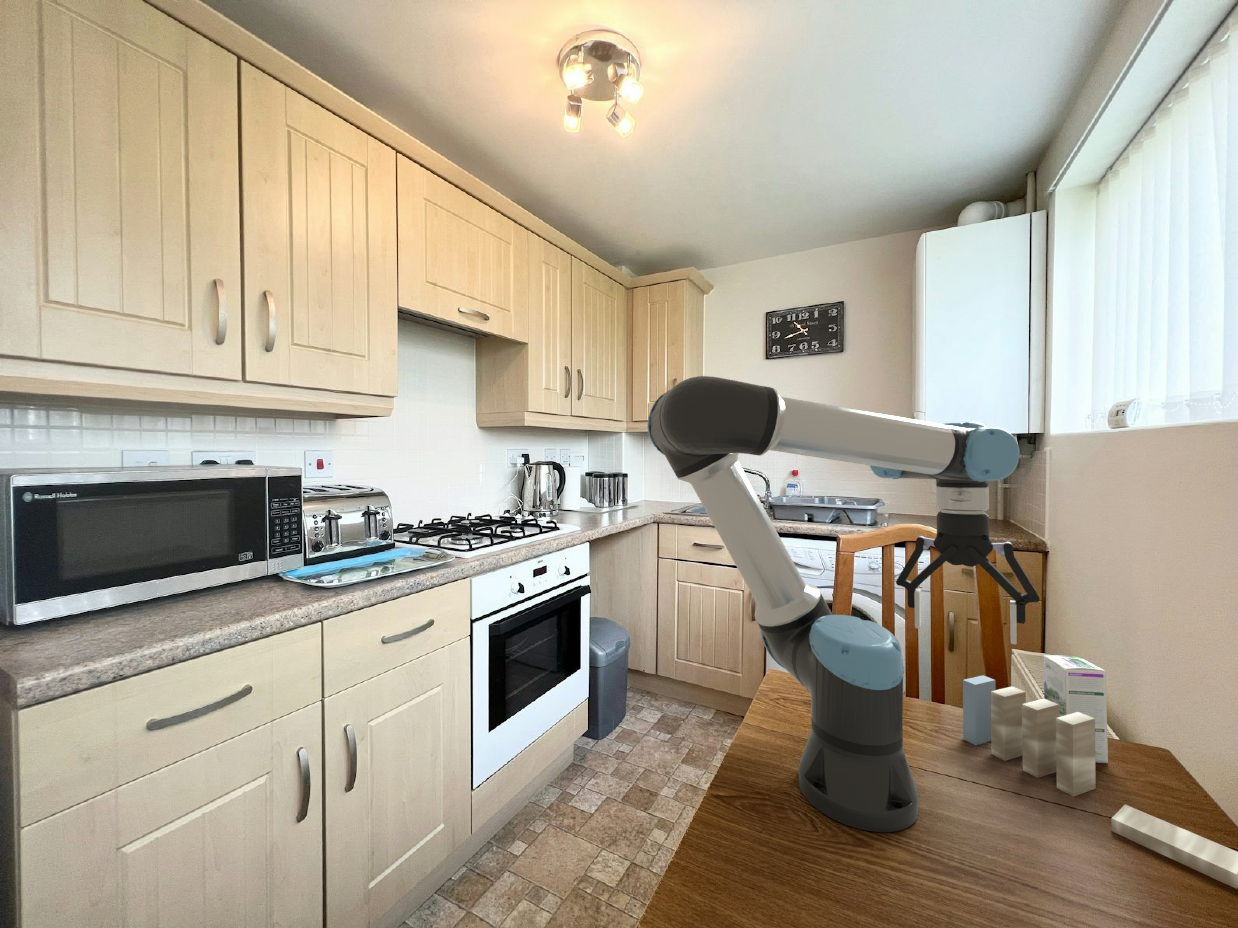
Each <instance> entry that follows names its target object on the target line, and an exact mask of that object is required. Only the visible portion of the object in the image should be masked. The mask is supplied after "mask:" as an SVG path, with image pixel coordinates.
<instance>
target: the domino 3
mask: <svg viewBox="0 0 1238 928" xmlns="http://www.w3.org/2000/svg"><path fill="white" fill-rule="evenodd" d="M1058 717H1059V704H1056V703H1054V702H1051V701H1049V700H1046V699H1044V698H1041V699H1037V700H1033V701H1029V702H1026V703H1024V704H1022V740H1023V755H1022V771H1023V772H1025V773H1027V774H1030V775H1031V776H1032V777H1035V778H1037V779H1039V778H1042V777H1044V776H1049V775H1050V774H1054V773H1057V765H1056V718H1058Z"/></svg>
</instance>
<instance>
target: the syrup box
mask: <svg viewBox="0 0 1238 928" xmlns="http://www.w3.org/2000/svg"><path fill="white" fill-rule="evenodd" d="M1043 692H1044V693H1043V695H1044V696H1043V697H1044V698H1043V699H1046V700H1049V701H1051V702H1054V703H1056V704H1059V717H1061V716H1065V715H1068V714H1072V713H1076V712H1080V713H1082V714H1085V715H1088V716H1090V717H1093V718H1095V763H1100V764H1108V763H1109V751H1108V750H1109V749H1108V746H1109V745H1108V744H1109V743H1108V716H1107V715H1108V714H1107V713H1108V712H1107V706H1108V705H1107V703H1108V702H1107V671H1106V670H1105V669H1103V668H1101V667H1099V666H1098V665H1095V664H1094V663H1091V662H1089V661H1088V660H1086V659H1085V658H1082V657H1080V656H1073V655H1062V654H1058V655H1057V654H1055V655H1051V654H1050V655H1046V654H1043Z"/></svg>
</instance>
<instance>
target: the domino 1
mask: <svg viewBox="0 0 1238 928" xmlns="http://www.w3.org/2000/svg"><path fill="white" fill-rule="evenodd" d="M995 690H997V689H996V679H993V678H991V677H989V676H986V675H984V674H983V675H978V676H975V677H970V678H965V679H962V704H963V705H962V707H963V708H962V711H963V712H962V716H963V717H962V718H963V719H962V721H963V722H962V723H963V724H962V726H963V727H962V729H963V731H962V732H963V740H964V741H966V742H968V743H969V744H972V745H974V746H978V745H979V746H980V745H982V744H985V743H990V742H991V691H995Z"/></svg>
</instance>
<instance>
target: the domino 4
mask: <svg viewBox="0 0 1238 928" xmlns="http://www.w3.org/2000/svg"><path fill="white" fill-rule="evenodd" d="M1056 765H1057V772H1056V788H1057V789H1058V790H1059V791H1062V792H1063V793H1066V794H1067V795H1069V796H1071V797H1074V798H1075V797H1076V796H1079V795H1081V794H1084V793H1086V792H1087V793H1088V792H1090V791H1093V790H1094V789H1096V762H1095V718H1093V717H1090V716H1088V715H1085V714H1082V713H1080V712H1076V713H1072V714H1068V715H1065V716H1061V717H1058V718H1056Z"/></svg>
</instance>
